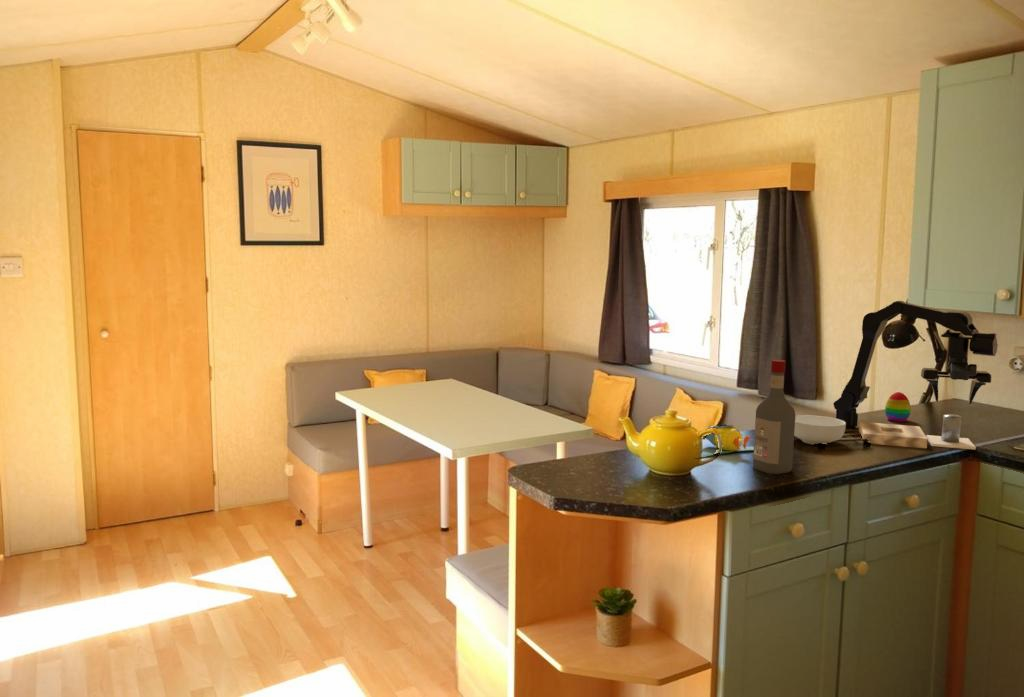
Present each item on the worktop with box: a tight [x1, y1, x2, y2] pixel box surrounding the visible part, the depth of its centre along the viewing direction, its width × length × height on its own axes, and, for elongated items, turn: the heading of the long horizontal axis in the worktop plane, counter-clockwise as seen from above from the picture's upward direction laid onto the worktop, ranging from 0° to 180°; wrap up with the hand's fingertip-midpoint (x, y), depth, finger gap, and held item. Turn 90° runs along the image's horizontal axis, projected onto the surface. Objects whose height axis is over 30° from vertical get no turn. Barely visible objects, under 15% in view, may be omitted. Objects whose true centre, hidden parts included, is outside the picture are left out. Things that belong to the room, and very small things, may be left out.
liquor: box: [752, 359, 797, 475], centre depth 231 cm, size 9×9×30 cm
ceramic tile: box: [925, 434, 977, 451], centre depth 266 cm, size 12×12×1 cm
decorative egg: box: [884, 391, 912, 423], centre depth 298 cm, size 8×8×10 cm
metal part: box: [941, 413, 962, 443], centre depth 266 cm, size 5×5×8 cm
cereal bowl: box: [794, 414, 847, 445], centre depth 265 cm, size 17×17×7 cm
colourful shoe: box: [701, 424, 754, 458], centre depth 252 cm, size 28×9×15 cm
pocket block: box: [858, 421, 928, 449], centre depth 270 cm, size 18×18×3 cm
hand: (953, 402), depth 265 cm, fingers open, 9 cm apart
